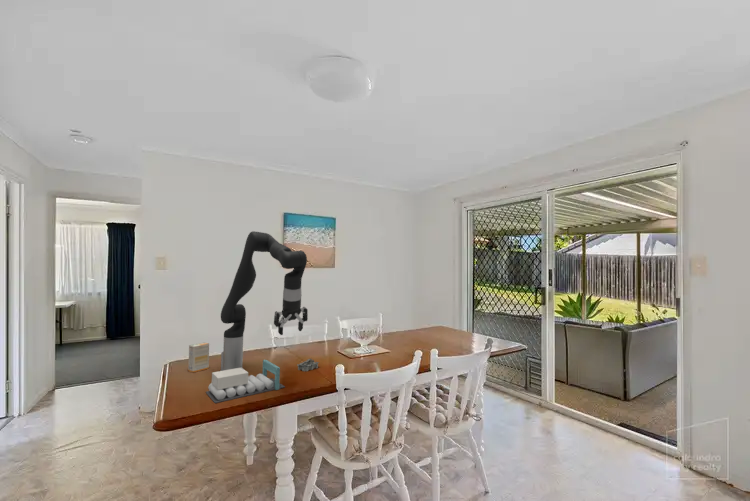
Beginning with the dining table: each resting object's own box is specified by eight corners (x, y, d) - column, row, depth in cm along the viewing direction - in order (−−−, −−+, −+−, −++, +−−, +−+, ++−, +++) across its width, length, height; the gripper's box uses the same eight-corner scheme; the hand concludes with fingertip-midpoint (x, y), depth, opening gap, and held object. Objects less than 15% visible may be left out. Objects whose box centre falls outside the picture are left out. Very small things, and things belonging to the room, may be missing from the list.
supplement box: (203, 367, 179) (204, 341, 180) (208, 369, 176) (209, 343, 177) (187, 371, 172) (188, 344, 173) (192, 373, 170) (193, 346, 170)
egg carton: (311, 365, 187) (311, 357, 187) (320, 368, 182) (320, 360, 182) (295, 369, 179) (295, 361, 179) (304, 372, 174) (304, 364, 174)
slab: (217, 389, 137) (218, 378, 137) (211, 383, 144) (211, 372, 144) (248, 383, 144) (248, 372, 144) (240, 377, 151) (241, 367, 151)
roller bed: (214, 403, 134) (215, 392, 134) (205, 392, 144) (206, 382, 145) (284, 387, 152) (285, 378, 152) (272, 379, 163) (272, 370, 163)
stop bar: (275, 390, 149) (276, 368, 149) (262, 380, 161) (262, 360, 161) (279, 389, 150) (279, 367, 150) (265, 379, 162) (266, 359, 162)
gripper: (304, 292, 152) (302, 325, 156) (272, 296, 144) (271, 331, 147) (311, 298, 146) (309, 332, 150) (278, 302, 138) (277, 339, 142)
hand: (290, 332), depth 149 cm, fingers open, 8 cm apart
